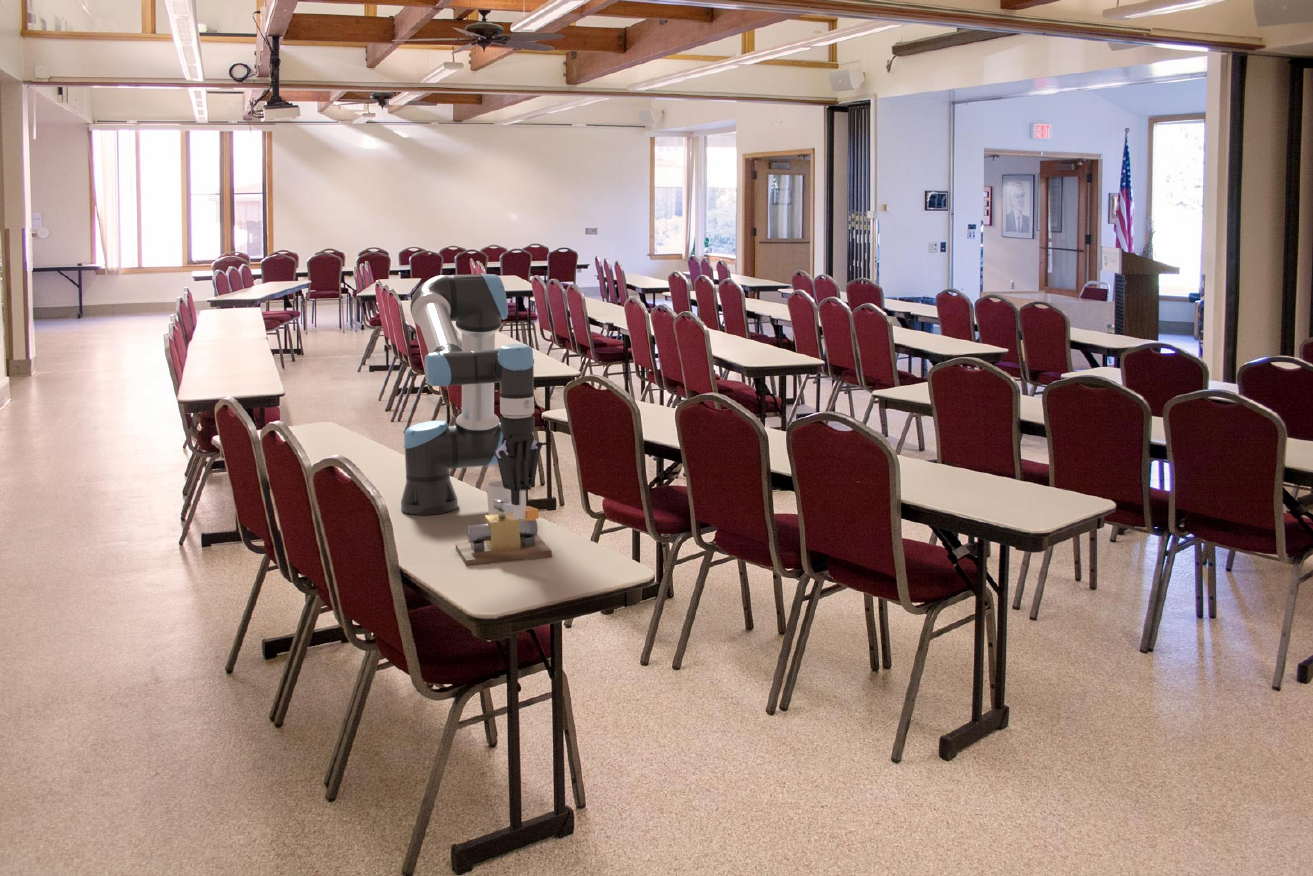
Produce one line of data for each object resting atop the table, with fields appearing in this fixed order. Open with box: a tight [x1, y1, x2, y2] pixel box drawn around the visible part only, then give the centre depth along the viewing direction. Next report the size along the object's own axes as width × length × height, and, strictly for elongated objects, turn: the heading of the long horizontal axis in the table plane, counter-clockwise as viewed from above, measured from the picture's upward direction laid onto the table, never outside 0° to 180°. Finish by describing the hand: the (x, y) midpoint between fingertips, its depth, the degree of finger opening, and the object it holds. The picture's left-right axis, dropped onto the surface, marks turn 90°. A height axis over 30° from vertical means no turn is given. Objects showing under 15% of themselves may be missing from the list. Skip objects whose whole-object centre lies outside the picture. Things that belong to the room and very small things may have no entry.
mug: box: [486, 480, 511, 515], centre depth 286 cm, size 10×7×12 cm, turn 19°
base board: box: [454, 534, 553, 567], centre depth 266 cm, size 14×20×2 cm
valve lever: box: [493, 498, 540, 521], centre depth 260 cm, size 15×4×2 cm, turn 41°
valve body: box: [466, 510, 538, 553], centre depth 265 cm, size 7×16×9 cm, turn 110°
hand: (519, 517), depth 254 cm, fingers closed
